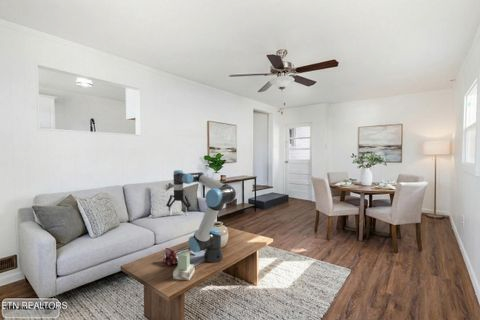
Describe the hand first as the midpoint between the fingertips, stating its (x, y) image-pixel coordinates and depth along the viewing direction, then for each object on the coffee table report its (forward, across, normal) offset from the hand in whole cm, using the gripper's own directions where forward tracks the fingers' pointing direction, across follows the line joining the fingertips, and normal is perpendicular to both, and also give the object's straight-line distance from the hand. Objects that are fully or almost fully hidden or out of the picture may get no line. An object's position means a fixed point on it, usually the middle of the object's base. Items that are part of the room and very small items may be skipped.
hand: (178, 215), depth 191 cm
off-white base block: (+32, -16, +32) cm, 48 cm away
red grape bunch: (+32, 0, +17) cm, 36 cm away
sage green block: (+27, -16, +32) cm, 45 cm away
